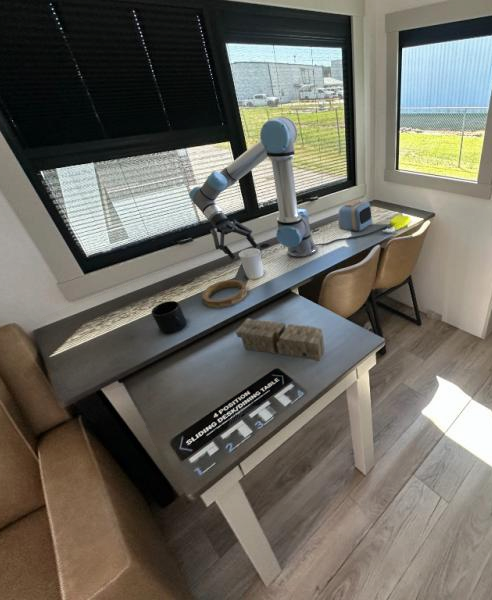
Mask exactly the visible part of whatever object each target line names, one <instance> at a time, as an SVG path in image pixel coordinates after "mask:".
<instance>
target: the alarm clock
mask: <svg viewBox="0 0 492 600" xmlns="http://www.w3.org/2000/svg"><path fill="white" fill-rule="evenodd" d="M371 208H372V207H371V203H370V202H368V201H361V199H351V200H349V201H346V202H345V204H344V205H343V206H341V207H340V208H339V210H338V227H339V229H343V230H349V231H354V232H362V231H363V230H364V229H367V228H368V227H369V226H371V224H373V223H372V222H373V218H372V209H371Z"/></svg>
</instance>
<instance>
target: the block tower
mask: <svg viewBox="0 0 492 600" xmlns="http://www.w3.org/2000/svg"><path fill="white" fill-rule="evenodd" d="M235 334H236V337H237V338H240V339H241V341H242V344H243V348H244V350H245V349H246V350H249V351H257V352H264V353H269V354H270V353H271V354H276V353H277V352H278V354H279V355H282V356H288V357H295V358H301V359H303V358H304V357H305V355H306V359H308V360H315V361H321V359H322V356H323V355H324V353H325V342H324V335H323V333H322V328H321V327H315V326H308V325H300V324H292V323H288V324H287V326H286V323H285V322H277V321H272V320H270V321H269V320H261V319H252V318H250V317H247V318H246V319H245V320H244V322H243V323H241V325H240V326H239V327H238V328H237V329H236V331H235Z"/></svg>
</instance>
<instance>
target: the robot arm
mask: <svg viewBox="0 0 492 600" xmlns="http://www.w3.org/2000/svg"><path fill="white" fill-rule="evenodd" d="M259 136H260V138H259V140H257V141H256V142H255V143H254V144H253V145H251V146H250V147H249V148H248V149H247V150H245V151H244V152H243V153H242V154H241V155H239V156H238V157H237V158H235V160H233V161H232V162H231V163H230V164H228V165H227V166H226V167H224V168H223V169H221V171H220V172H219V171H212V172H211V173H210V174H209V175H208V176H207V178H206V179H205V181H204V183H203V184H202V186H195V187H194V188H192V189H191V190H190V191H189V194H188V195H189V198H190V199H191V201H192V203H193V204H194V205H195V206H196V207H197V208H198V209H199V210H200V212H201V213H202V214H203V216H205V218H206V219H207V221H208V222H209V223H210V224H211V225H212V226H213V227H212V228H211V229H210V233H211V235H212V237H213V243H214V247H215V250H218V251H219V250H220V251H222V252H223V253H224V254H225V255H228V257H229V258H230V259H231V261H232V260H234V259H235V257H236V256H235V254H234V253H233V252H232V251H231V249H230V248H229V247H228V246H227V245H225V235H226V236H227V235H229V234H231V233H234V234H238V235H240V236H243V237H246V238H245V239H246V240H247V241H248V242H249V244H250V245H251V246H252V248H256V249H257V247H258V244H257V243H256V241H255V238H254V237H253V236H252V233H253V230H252V229H251V228H248V227H247V226H246V225H243V224H242V223H240V222H239V221H237V220H236V219H233V221H230V219H229V218H228V217H227V215H226V214H225V213H224V212H223V210H222V209H221V208H220V207H219V206H218V205H217V203H216V202H215V201H216V199H217V198H218V197H219V195H220V194H221V193H222V192H224V191H226V189H229V188H230V187H232V186H233V185H235V184H236V183H237V182H238V181H239V180H240V179H241V178H243V177H244V176H246V175H247V174H249V173H250V172H251V171H252V170H253V169H255V168H256V167H258V165H260V164H261V163H263V162H264V161H265V160H267V158H268V159H270V161H271V168H272V173H273V175H272V176H273V179H274V180H273V181H274V186H275V187H274V188H275V194H276V200H277V206H278V213H279V214H278V216H277V217H276V221H277V230H276V234H275V235H276V236H275V237H276V239H277V242H278V243H279V244H280V245H282V246H283V247H285V248H287V252H288V256H291V257H293V258H305V257H309V256H311V255H313V254H315V253H316V252H317V246H325V245H330V244H332V243H334V242H337V241H343V240H350V239H356V238H361V237H365V236H368V235H371V234H374V233H377V232H379V231H381V230H382V231H383V230H385V229H387V228H388V225H385V226H383V227H381V228H379V229H376V230H374V231H371V232H367V233H364V234H360V235H355V236H349V237H344V238H343V237H342V238H336V239H333V240H331V241H329V242H325V243H316V244H315V242H314V239H313V237H312V233H311V227H310V226H311V225H310V219H309V213H308V211H307V209H305V208H298V202H297V194H296V193H297V192H296V185H295V175H294V167H293V158H294V156H295V155H296V153H295V145H294V144H295V142H296V141H297V138H298V128H297V126H296V124H295V122H294V121H293V120H292V119H291V118H289V117H287V116H278V117H274V118H270V119H268V120H267V121H266V122H265V123H264V124H263V125H262V126H261V129H260V133H259ZM218 233H220V234H219V235H220V241H219V237H218Z"/></svg>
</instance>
